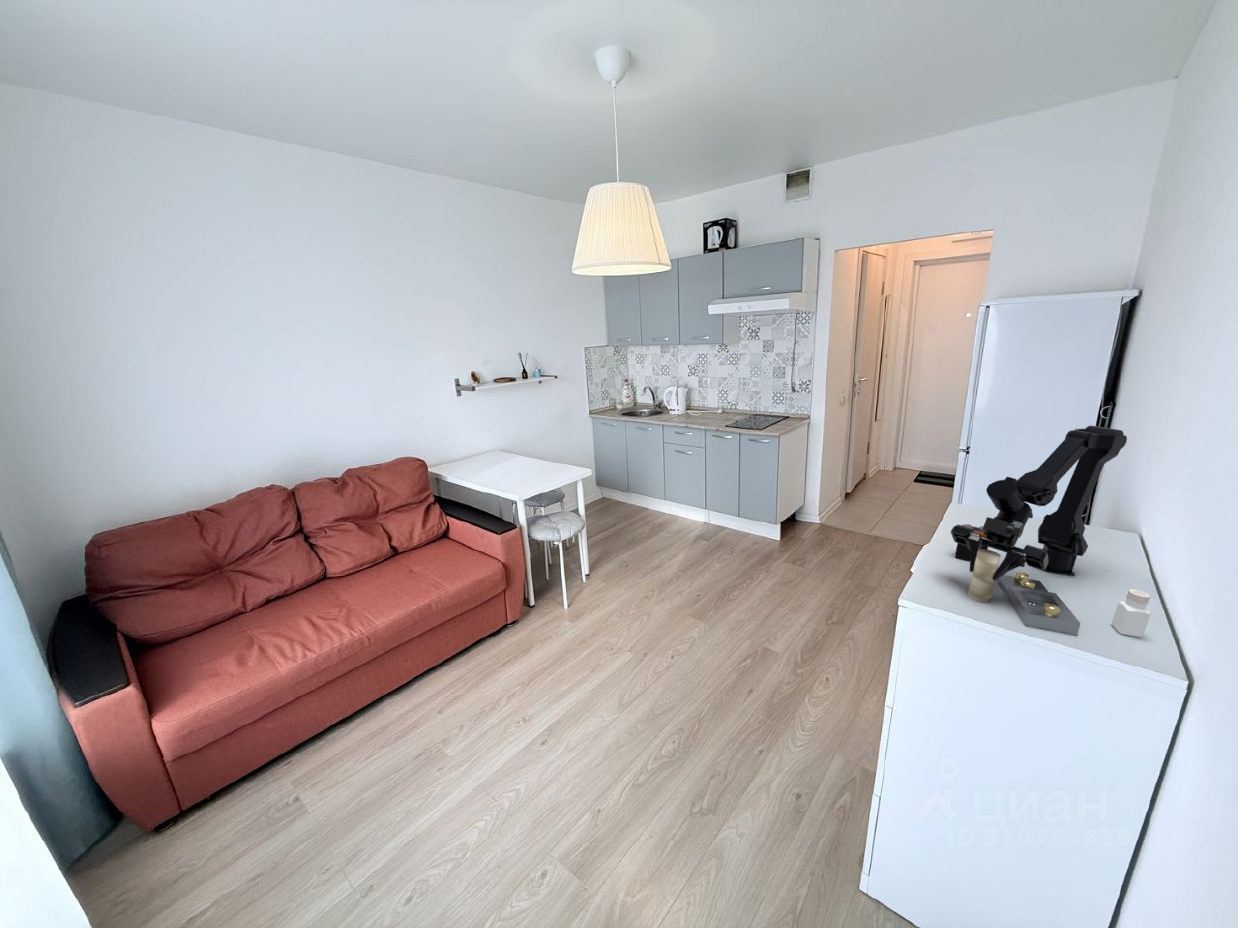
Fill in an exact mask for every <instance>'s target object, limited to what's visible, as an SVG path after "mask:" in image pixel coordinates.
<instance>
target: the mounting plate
mask: <svg viewBox="0 0 1238 928" xmlns="http://www.w3.org/2000/svg"><path fill="white" fill-rule="evenodd" d="M996 581H997V583H998V585H999V586H1000V588H1001V590H1002V591H1003V593H1004V594H1005V596H1006V598H1007V597H1008V598H1007V599H1008V601H1009V600H1010V601H1009V602H1010V605H1013V606H1012V607H1013V609H1014V610H1015V612H1016V614H1017V615H1018V616H1019V618H1020V620H1021V622H1022V623H1023V624H1024V626H1025V627H1030V628H1036V629H1040V630H1047V631H1051V632H1056V633H1062V634H1067V635H1073V636H1078V633H1079V630H1080V626H1081V622H1080V621H1079V619H1078V618H1077V617H1076V616H1075V615H1074V613H1073V612H1072V611H1071V610H1070V608H1069V607H1068V606H1067V605H1066V604H1065V603H1064V601H1063V600H1062V599H1061V598H1060V596H1059V595H1058V594H1057V593H1055V592H1052V591H1050V592H1049V590H1048V589H1047V587H1046V586H1045V585H1044V584H1043V582H1041V580H1038V579H1037V580H1036V579H1030V575H1029V574H1027V573H1025V572H1022V571H1021V572H1020V571H1018V572H1017V571H1016V573H1015V575H1014V576H1011V575H1006V574H1004V575H1003V576H1001V577H1000V578H998V579H997V580H996ZM1029 603H1031V604H1029ZM1033 604H1035V605H1033Z"/></svg>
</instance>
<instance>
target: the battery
mask: <svg viewBox="0 0 1238 928" xmlns="http://www.w3.org/2000/svg"><path fill="white" fill-rule="evenodd" d="M960 525H961V526H965V527H968V528H972V529H973V530H974V534H977V535H980V536H981V537H986V535H984V531H985V530H983V526H984V525H983V526H982V525H980V526H979V527H978V526H973V525H971V524H970V523H965V524H960ZM955 548H956V549H955V558H956V559H959V560H964V561H968V562H970V558H971V551H970V550H969V549H968V547H967V546H965V545H962V544H959V543H956V547H955ZM981 549H986V550H989V547H987V546H984V545H982V547H981Z"/></svg>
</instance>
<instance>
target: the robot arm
mask: <svg viewBox="0 0 1238 928" xmlns="http://www.w3.org/2000/svg"><path fill="white" fill-rule="evenodd" d="M1127 440H1128V437H1127V435H1125V434H1124V431H1123V430H1121V429H1116V428H1110V427H1102V426H1096V425H1088V426H1086V427H1085V428H1074V430H1072V429H1071V430H1069V431H1068V432H1067V433H1066V435H1065V438H1064V439H1063V441H1062V442H1061V443H1060V444H1059V445H1058V446H1057V447H1056V448H1055V449H1054V450H1053V452H1051V454H1050V455H1049V456H1048V457H1047V458H1046V459H1045V460H1044V462H1042V463H1041V464H1040V466H1039V467H1038V468H1036V469H1034V470H1031V471H1028V472H1026V473H1024V474H1022V476H1020V477H1019V478H1018V479H1017V478H1013V477H1011V476H1006V478H1004V479H999V480H996V481H993V482H991V483H989V484H988V486H987V487H986V494H987V496H988V498H989V499H990V500H991V503H992V504H993V506H994V507H995V508H996V510H998V513H997V515H996V516H994V517H988V516H987V517H986V519H985V522H984V524H983V530H985V531H984V535H986V537H981V536H980V535H977V534H974V530H973V529H972V528H968V527H965V526H961V525H962V524H956V525H954V526H953V527H952V528H951V531H950V535H951V537H952V539H953V542H955V544H957V543H959V544H962V545H965V546H967V547H968V549H969V550H970V551H971V558H970V561H969V572H970V573H973V570H974V565H975V561H976V556H977V552H978V550H980V549H981V547H982V545H984V546H987V547H988V548H991V549H995V550H997V551H1001V552H1003V553H1006V554H1005V556H1004V558H1003V560H1002V562H1001V563H1000V565H998V569H997V571H996V572H995V574H994V576H993V580H995V581H997V579H998V578H1000V577H1001V576H1003V575H1006V574H1007V573H1009V572H1010V571H1012V570H1014V569H1017V568H1019V567H1021V568H1024V567H1026V565H1027V566H1029V567H1030V568H1033V569H1037V570H1040V571H1044V572H1049V573H1054V574H1060V575H1067V576H1068V575H1069V576H1074V577H1075V576H1076V573H1075V571H1073V570H1074V567H1075V564H1076V561H1077V557H1078V556H1080V557H1083V556H1084V555H1085V554H1086V552H1087V550H1088V548H1089V545H1088V542H1087V541H1086V539H1085V537H1084V533H1085V530H1086V527H1085V523H1084V521H1083V518H1082V516H1083V514H1084V512H1085V509H1086V507H1087V505H1088V502H1089V499H1090V498H1091V496H1092V493H1093V491H1094V488H1095V485H1096V484H1097V482H1098V479H1099V477H1100V475H1101V472H1102V471H1103V468H1104V465H1105V464H1106V463H1108V462H1110V461H1111V460H1113V459H1115V458H1116V457H1117V456H1119V453H1120V452H1121V450H1122V449H1123V448H1124V447H1125V445H1126V444H1127ZM1075 464H1076V466H1075V468H1074V470H1073V473H1072V475H1071V478H1070V480H1069V482H1068V484H1067V486H1066V489H1065V491H1064V493H1063V496H1062V498H1061V501H1060V504H1059V505H1058V508H1057V510H1055V511H1054V512H1052V513H1051V514H1046V515H1045V516H1043V519H1042V523H1041V524H1040V525H1039V527H1038V528H1037V543H1038V544H1042V545H1043V547H1042V548H1039V547H1036V546H1033V545H1029V544H1025V546H1024V547H1023V548H1021V547H1017V546H1016V544H1017V542H1018V540H1019V538H1021V536H1022V535H1023V533H1024V528H1025V526H1026V524H1027V522H1028V520H1029V519H1033V517H1034V513H1033V509H1032V507H1031V506H1030V505H1029V504H1031V505H1034V506H1036V507H1046V506H1047V505H1048V504H1051V502H1053V500H1054V499H1055V496H1056V494H1058V483H1059V482H1060V481H1061V479H1062V478H1063V477H1064V476H1065V475H1066V474H1067V473H1068V471H1069V470H1071V468H1073V466H1074V465H1075ZM1025 564H1026V565H1025Z"/></svg>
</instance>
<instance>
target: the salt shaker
mask: <svg viewBox="0 0 1238 928" xmlns="http://www.w3.org/2000/svg"><path fill="white" fill-rule="evenodd" d="M1125 598H1126V599H1125V600H1124V601H1123V600H1121V601H1118V603H1117V606H1116V609H1115V611H1114V614H1113V617H1112V620H1111V626H1112V627H1113V628H1114V629H1115V630H1116V631H1117V632H1118V633H1119V634H1121V635H1125V636H1131V637H1136V638H1143V637H1144V635H1145V632H1146V629H1147V627H1148V624H1149V621H1150V618H1151V616H1152V614H1151V613H1152V612H1151V611H1150V610H1149V609H1148V608H1147V605H1149V602H1150V599H1151V595H1150V593H1147V592H1146V591H1142V590H1139V589H1134V588H1133V589H1132V588H1131V589H1129V590H1127V594H1126V597H1125Z"/></svg>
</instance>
